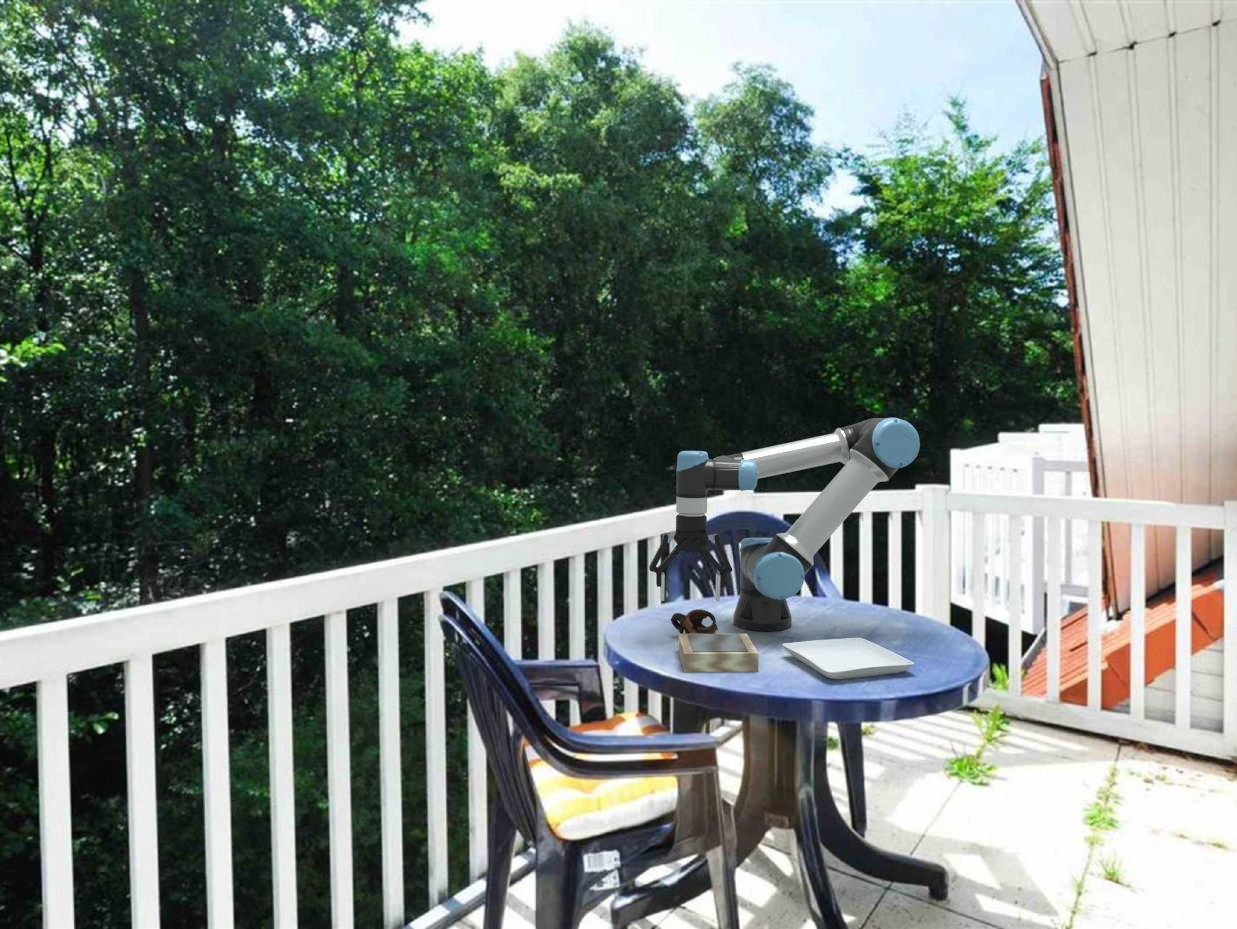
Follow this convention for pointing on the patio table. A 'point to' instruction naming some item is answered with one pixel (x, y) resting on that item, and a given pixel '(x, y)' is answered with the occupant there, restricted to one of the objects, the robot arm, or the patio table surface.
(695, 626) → the pottery mug
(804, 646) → the salad plate
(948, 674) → the patio table surface
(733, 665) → the wooden tray
